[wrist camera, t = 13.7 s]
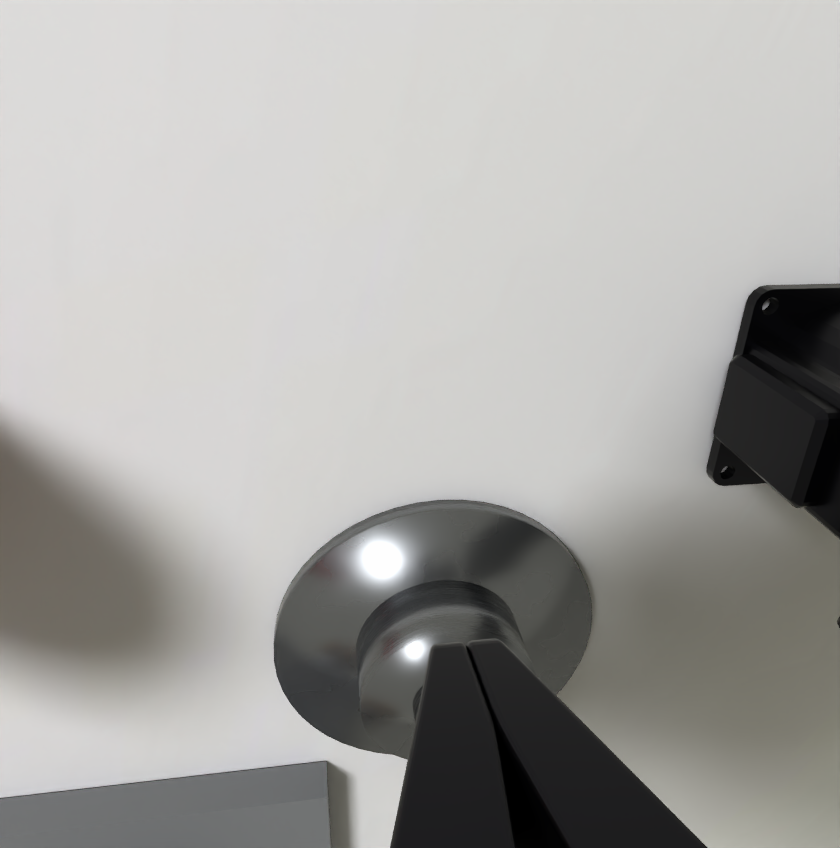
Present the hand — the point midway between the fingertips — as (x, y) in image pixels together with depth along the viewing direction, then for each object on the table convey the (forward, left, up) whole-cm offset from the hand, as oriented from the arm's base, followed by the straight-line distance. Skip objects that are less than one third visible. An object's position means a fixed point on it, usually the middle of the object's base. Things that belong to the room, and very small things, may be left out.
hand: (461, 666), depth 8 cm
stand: (-2, +11, -12) cm, 16 cm away
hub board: (+10, +23, -12) cm, 28 cm away
